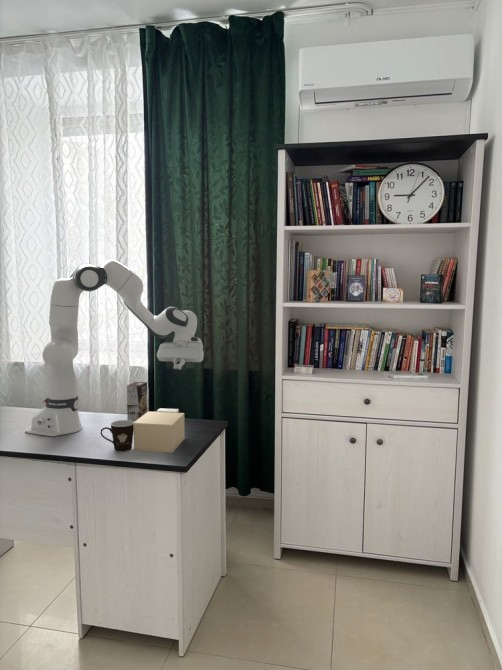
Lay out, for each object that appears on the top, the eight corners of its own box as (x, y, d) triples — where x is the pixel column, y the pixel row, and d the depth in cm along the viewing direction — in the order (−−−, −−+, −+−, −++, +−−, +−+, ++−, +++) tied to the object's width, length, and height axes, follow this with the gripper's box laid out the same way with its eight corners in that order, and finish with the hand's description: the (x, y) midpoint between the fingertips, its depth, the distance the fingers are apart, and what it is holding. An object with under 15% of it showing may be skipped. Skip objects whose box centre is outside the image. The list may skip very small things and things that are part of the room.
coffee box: (140, 421, 228) (139, 386, 226) (126, 420, 229) (126, 385, 227) (148, 415, 237) (147, 381, 235) (135, 414, 238) (134, 381, 236)
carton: (133, 450, 190) (133, 424, 189) (148, 436, 206) (148, 412, 205) (172, 452, 188) (172, 426, 187) (184, 438, 204) (184, 414, 203)
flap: (133, 424, 189) (133, 421, 189) (151, 410, 209) (151, 407, 209) (172, 426, 187) (172, 423, 187) (187, 411, 206) (187, 409, 206)
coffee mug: (138, 446, 195) (138, 420, 194) (128, 453, 187) (127, 427, 185) (111, 443, 198) (110, 418, 196) (99, 451, 189) (98, 425, 188)
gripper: (158, 337, 224) (151, 363, 216) (203, 338, 221) (198, 364, 213) (162, 346, 229) (155, 371, 221) (206, 347, 226) (201, 373, 218)
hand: (177, 368), depth 217 cm, fingers closed
